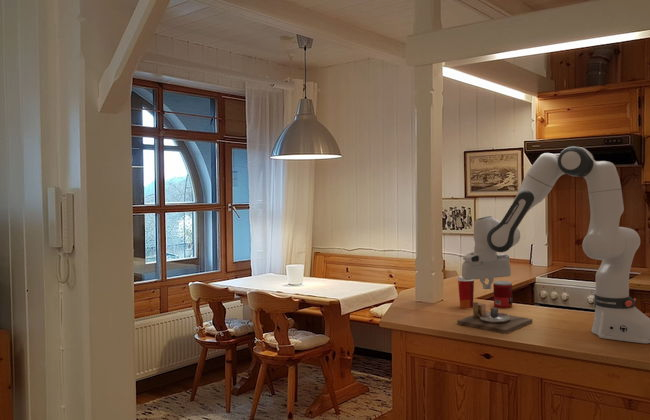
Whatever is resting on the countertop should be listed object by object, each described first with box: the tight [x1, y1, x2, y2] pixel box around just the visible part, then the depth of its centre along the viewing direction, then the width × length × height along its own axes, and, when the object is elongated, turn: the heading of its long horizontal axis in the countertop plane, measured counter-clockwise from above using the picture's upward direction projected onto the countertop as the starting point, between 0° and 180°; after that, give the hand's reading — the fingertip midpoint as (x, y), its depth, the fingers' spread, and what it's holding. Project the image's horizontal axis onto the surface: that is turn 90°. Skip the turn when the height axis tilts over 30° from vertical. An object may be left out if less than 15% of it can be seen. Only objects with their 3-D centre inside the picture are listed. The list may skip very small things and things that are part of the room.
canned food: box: [492, 280, 513, 309], centre depth 261 cm, size 8×8×11 cm
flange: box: [478, 302, 510, 323], centre depth 235 cm, size 15×12×5 cm
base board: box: [456, 301, 533, 335], centre depth 234 cm, size 22×20×8 cm
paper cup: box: [456, 275, 476, 309], centre depth 262 cm, size 8×8×14 cm
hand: (487, 288), depth 240 cm, fingers closed
